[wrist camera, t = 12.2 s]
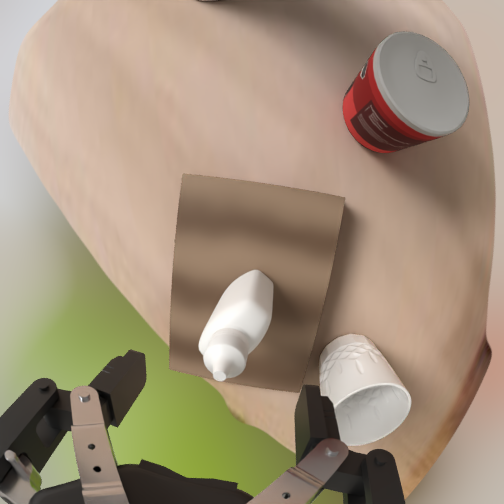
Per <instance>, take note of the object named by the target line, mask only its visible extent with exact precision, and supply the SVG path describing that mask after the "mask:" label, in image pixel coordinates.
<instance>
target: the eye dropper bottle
mask: <svg viewBox="0 0 504 504" xmlns="http://www.w3.org/2000/svg"><path fill="white" fill-rule="evenodd" d="M272 306H273V283H272V281H271V280H270V279H269V278H268V277H267V276H266V275H264V274H263V273H262V272H261V271H259V270H252V271H249V272H247V273H245V274H243V275H242V276H240V277H239V278H237V279H236V280H235V281H234V282H232V283H231V284H230V285H229V287H228V288H227V289H226V290H225V292H224V293H223V295H222V297H221V298H220V300H219V302H218V304H217V306H216V308H215V309H214V311H213V313H212V315H211V317H210V319H209V321H208V323H207V324H206V326H205V328H204V330H203V332H202V335H201V338H200V341H199V351H200V352H201V354H202V355H203V360H204V364H205V366H206V368H207V369H208V370H209V371H210V372H211V373H212V374H213V377H214V379H215V380H217V381H224V380H225V379H226V378H232V377H236V376H238V375H240V374H241V373H242V372H243V371H244V369H245V366H246V362H247V357H248V354H249V353H251V352H252V351H253V350H254V349H255V348H256V347H257V346H258V344H259V343H260V342H261V340H262V339H263V337H264V335H265V334H266V332H267V330H268V327H269V325H270V321H271V318H272Z"/></svg>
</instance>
